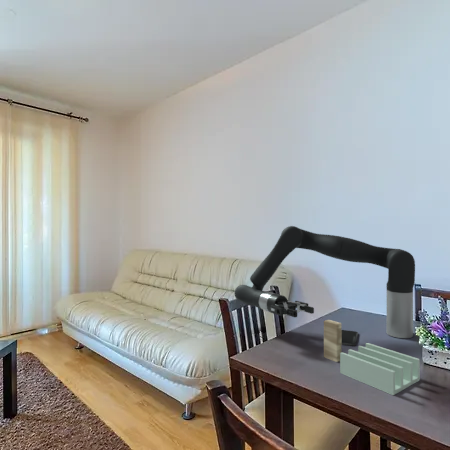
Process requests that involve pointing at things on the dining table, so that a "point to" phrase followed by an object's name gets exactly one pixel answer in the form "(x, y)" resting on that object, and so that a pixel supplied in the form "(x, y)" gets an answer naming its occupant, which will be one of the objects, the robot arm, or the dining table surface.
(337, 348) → the tan wooden block
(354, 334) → the phone
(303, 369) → the dining table surface
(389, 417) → the dining table surface
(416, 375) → the slotted rack
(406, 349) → the dining table surface
